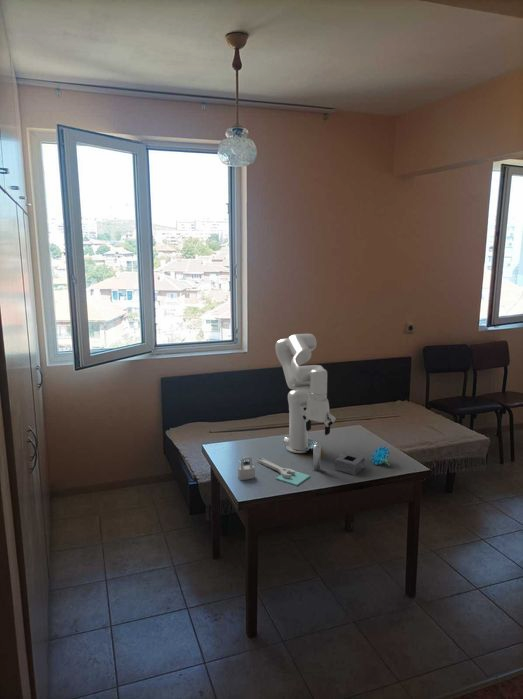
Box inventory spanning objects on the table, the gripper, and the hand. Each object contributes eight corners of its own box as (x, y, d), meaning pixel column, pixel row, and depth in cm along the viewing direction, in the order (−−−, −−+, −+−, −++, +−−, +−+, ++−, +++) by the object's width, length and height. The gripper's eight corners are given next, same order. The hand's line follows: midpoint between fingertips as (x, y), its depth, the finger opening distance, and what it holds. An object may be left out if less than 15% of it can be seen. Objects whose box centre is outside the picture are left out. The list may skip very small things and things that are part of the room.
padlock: (240, 481, 218) (240, 459, 216) (237, 477, 222) (237, 456, 220) (255, 478, 221) (255, 457, 219) (252, 474, 224) (252, 453, 223)
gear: (366, 456, 241) (381, 441, 240) (373, 462, 243) (388, 448, 243) (376, 468, 231) (392, 453, 230) (384, 475, 233) (399, 460, 232)
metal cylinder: (311, 469, 229) (312, 445, 227) (315, 467, 232) (315, 443, 230) (317, 471, 227) (318, 447, 225) (321, 469, 230) (322, 444, 228)
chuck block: (335, 469, 230) (335, 459, 229) (344, 462, 238) (345, 452, 237) (354, 475, 224) (355, 464, 223) (364, 467, 232) (364, 457, 231)
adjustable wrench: (256, 461, 239) (255, 458, 238) (267, 458, 242) (267, 455, 242) (286, 479, 218) (286, 475, 218) (298, 475, 221) (298, 471, 221)
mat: (276, 479, 220) (276, 477, 220) (289, 470, 228) (289, 469, 228) (297, 485, 213) (297, 484, 213) (310, 476, 222) (310, 475, 222)
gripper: (297, 394, 225) (297, 430, 228) (331, 401, 215) (330, 438, 218) (306, 391, 231) (305, 426, 234) (339, 397, 221) (338, 433, 224)
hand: (317, 432), depth 226 cm, fingers open, 9 cm apart
